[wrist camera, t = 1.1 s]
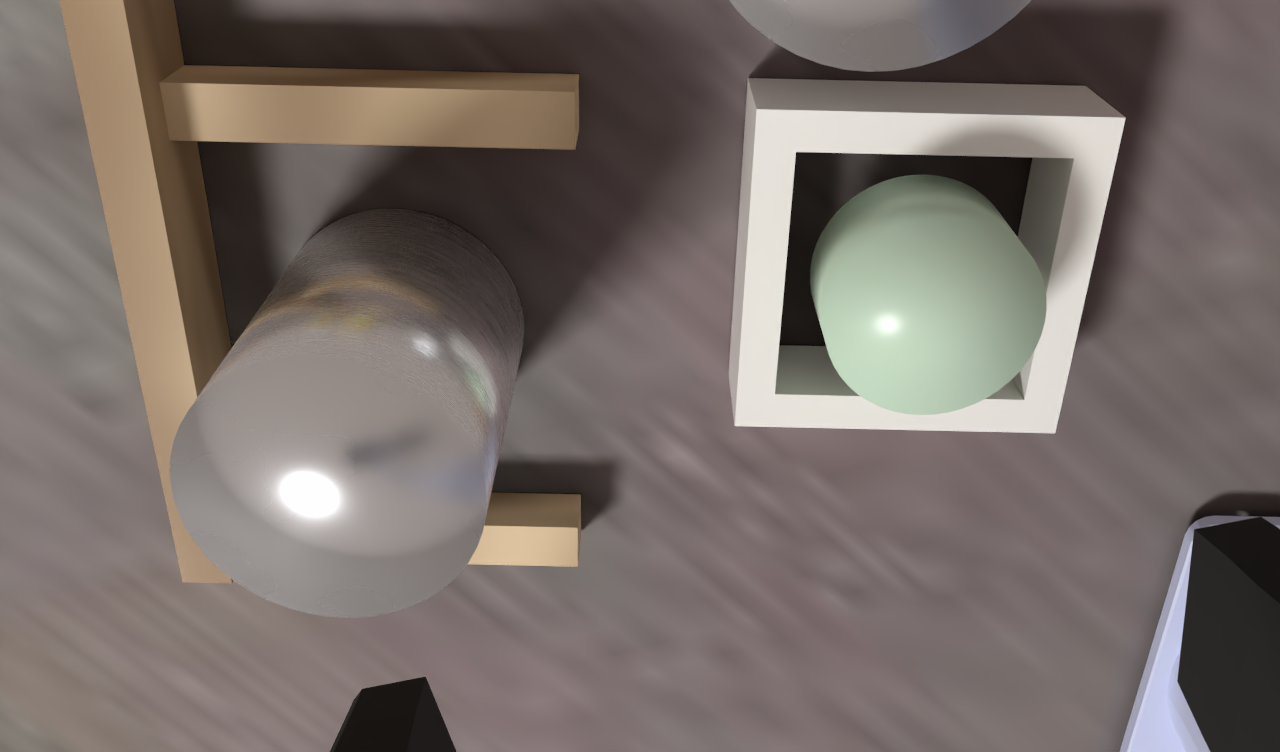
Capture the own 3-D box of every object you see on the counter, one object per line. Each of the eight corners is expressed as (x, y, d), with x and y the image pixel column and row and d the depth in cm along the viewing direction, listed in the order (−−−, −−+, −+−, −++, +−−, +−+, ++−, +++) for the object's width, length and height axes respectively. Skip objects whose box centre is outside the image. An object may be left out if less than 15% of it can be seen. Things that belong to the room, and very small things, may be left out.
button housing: (1085, 86, 21) (1125, 118, 19) (1025, 381, 23) (1055, 433, 22) (748, 78, 21) (757, 108, 19) (728, 375, 23) (734, 425, 22)
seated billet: (520, 211, 22) (478, 359, 17) (527, 429, 24) (492, 620, 19) (266, 205, 22) (142, 352, 17) (297, 424, 24) (197, 613, 19)
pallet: (575, -568, 16) (566, -607, 15) (581, 532, 25) (575, 591, 24) (6, -582, 16) (-73, -621, 15) (215, 524, 25) (182, 582, 24)
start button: (1029, 176, 20) (1066, 218, 18) (995, 362, 22) (1025, 417, 20) (819, 172, 20) (835, 213, 18) (801, 358, 22) (815, 412, 20)
